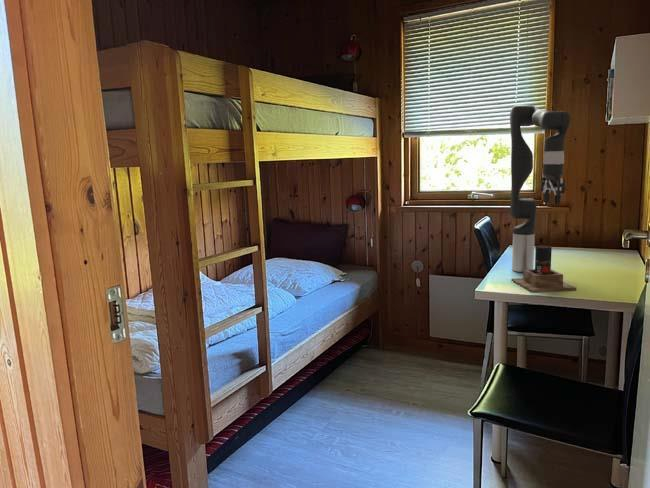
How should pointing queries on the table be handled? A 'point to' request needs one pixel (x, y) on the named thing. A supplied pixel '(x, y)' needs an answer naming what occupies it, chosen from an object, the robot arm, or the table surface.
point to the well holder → (543, 282)
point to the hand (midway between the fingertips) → (551, 203)
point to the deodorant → (543, 260)
